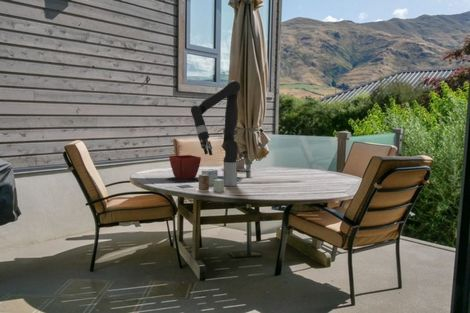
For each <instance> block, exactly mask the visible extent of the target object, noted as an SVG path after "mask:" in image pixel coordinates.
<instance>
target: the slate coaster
mask: <svg viewBox="0 0 470 313" xmlns="http://www.w3.org/2000/svg"><path fill="white" fill-rule="evenodd" d="M176 187H177V188H181V189H188V188H194V186H192V185H189V184H184V185H183V184H181V185H176Z"/></svg>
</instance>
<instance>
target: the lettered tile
mask: <svg viewBox="0 0 470 313" xmlns="http://www.w3.org/2000/svg"><path fill="white" fill-rule="evenodd" d="M195 190H196V191H198V192H211V191H212V189H210V188H209V190H204V191H202V190H199V188H196V189H195Z"/></svg>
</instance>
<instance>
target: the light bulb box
mask: <svg viewBox="0 0 470 313" xmlns="http://www.w3.org/2000/svg"><path fill="white" fill-rule="evenodd" d="M218 172H219V171H218V169H215V168H210V169H203V170H201V175H204V174H206V175H209V186H211V185H213V186H214V180H215V179H218V174H219V173H218Z"/></svg>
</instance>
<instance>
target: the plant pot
mask: <svg viewBox="0 0 470 313" xmlns="http://www.w3.org/2000/svg"><path fill="white" fill-rule="evenodd" d="M168 158H169V163H170V168H171V170H172V173H173V176H174V178H176V179H180V180H186V179H195V178H196V177H197V175H198V172H199V168H200V166H201V161H202V160H201V159H202V157H200V156H196V155H192V154H191V155H190V154H185V155H184V154H181V155H170V156H169V157H168Z"/></svg>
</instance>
